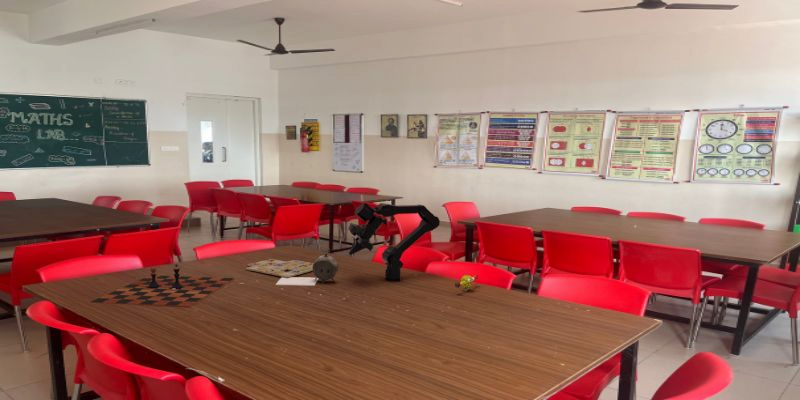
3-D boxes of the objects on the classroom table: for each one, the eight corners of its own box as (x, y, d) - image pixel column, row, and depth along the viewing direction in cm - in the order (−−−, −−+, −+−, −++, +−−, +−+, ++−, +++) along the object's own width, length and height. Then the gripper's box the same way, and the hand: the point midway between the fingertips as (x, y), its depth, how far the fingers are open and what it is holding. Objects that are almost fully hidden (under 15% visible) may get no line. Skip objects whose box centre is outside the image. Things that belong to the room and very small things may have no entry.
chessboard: (234, 280, 231) (233, 256, 229) (189, 308, 191) (188, 280, 190) (150, 277, 234) (149, 254, 233) (89, 304, 195) (88, 276, 194)
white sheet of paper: (318, 278, 235) (318, 277, 235) (314, 285, 223) (314, 284, 223) (281, 277, 235) (281, 277, 235) (275, 285, 223) (275, 284, 223)
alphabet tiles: (327, 267, 256) (327, 264, 255) (287, 278, 232) (287, 275, 232) (279, 258, 273) (279, 256, 273) (237, 268, 250) (237, 265, 250)
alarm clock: (337, 281, 231) (339, 246, 228) (335, 285, 226) (336, 250, 223) (314, 278, 232) (315, 244, 229) (310, 282, 227) (312, 247, 224)
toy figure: (462, 296, 212) (462, 280, 211) (450, 294, 215) (451, 278, 214) (482, 287, 226) (483, 272, 225) (471, 285, 229) (472, 270, 228)
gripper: (353, 211, 234) (331, 238, 233) (364, 221, 217) (341, 250, 216) (370, 225, 239) (349, 251, 238) (382, 236, 222) (360, 264, 221)
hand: (349, 254), depth 228 cm, fingers closed
